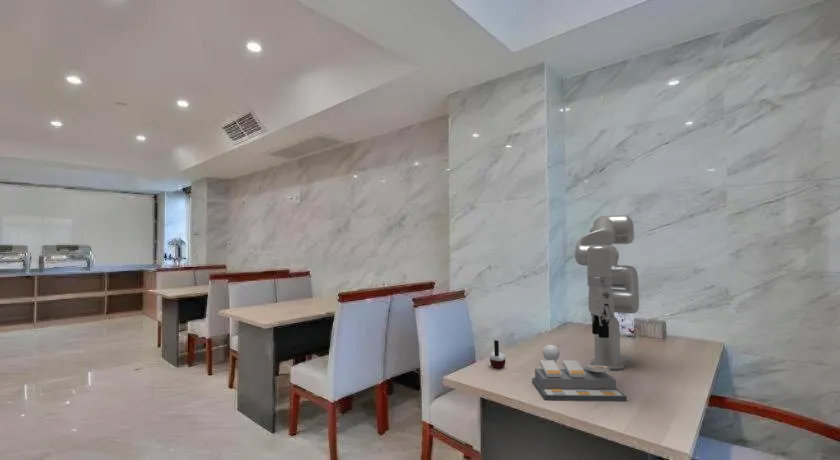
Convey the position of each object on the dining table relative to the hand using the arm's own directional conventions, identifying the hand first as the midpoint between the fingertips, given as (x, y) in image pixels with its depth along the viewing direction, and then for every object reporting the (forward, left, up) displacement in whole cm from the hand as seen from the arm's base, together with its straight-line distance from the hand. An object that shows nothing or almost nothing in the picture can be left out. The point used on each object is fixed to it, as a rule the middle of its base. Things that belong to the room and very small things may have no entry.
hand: (600, 335), depth 130 cm
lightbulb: (+11, -19, -20) cm, 30 cm away
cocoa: (+31, -25, -20) cm, 45 cm away
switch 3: (0, -4, -13) cm, 13 cm away
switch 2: (+8, -4, -13) cm, 16 cm away
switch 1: (+16, -4, -13) cm, 21 cm away
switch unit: (+8, -1, -19) cm, 21 cm away
